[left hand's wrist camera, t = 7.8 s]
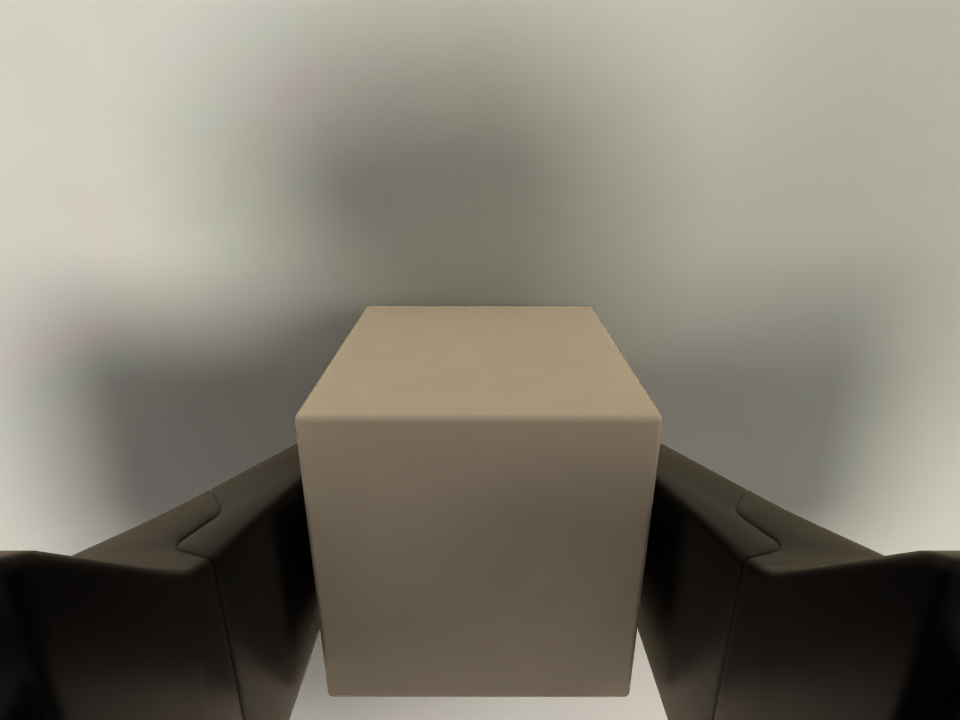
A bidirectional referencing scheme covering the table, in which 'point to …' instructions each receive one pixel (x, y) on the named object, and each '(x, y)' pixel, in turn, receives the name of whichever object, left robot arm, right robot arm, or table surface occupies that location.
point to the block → (478, 503)
